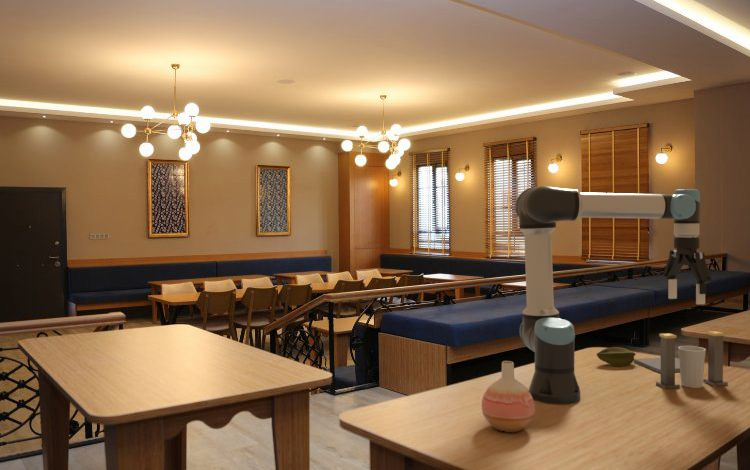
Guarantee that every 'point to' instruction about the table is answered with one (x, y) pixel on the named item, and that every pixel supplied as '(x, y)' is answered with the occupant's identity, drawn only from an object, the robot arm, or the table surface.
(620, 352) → the fruit
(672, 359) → the post
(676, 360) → the pad
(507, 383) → the vase
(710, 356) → the post
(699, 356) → the cup
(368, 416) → the table surface
